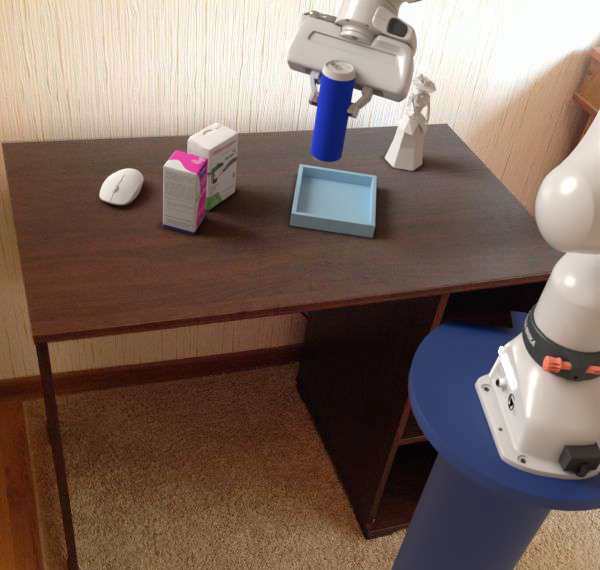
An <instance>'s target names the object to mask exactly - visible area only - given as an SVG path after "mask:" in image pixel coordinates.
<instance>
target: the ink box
mask: <svg viewBox="0 0 600 570" xmlns="http://www.w3.org/2000/svg"><path fill="white" fill-rule="evenodd" d="M186 141H187V147H186V148H187V152H186V153H189V154H193V155H197V156H201V157H205V158H208V169H207V187H206V206H205V211H207V212H208V211H210V210H212V209H213V208H214V207H216V206H217V205H219V204H220V203H221V202H223V201H224V200H226V199H227V198H229V197H230V196H231V195H233V194H234V193H236V181H237V180H236V179H237V178H236V177H237V163H238V162H237V161H238V146H239V145H238V144H239V131H236V130H234V129H232V128H230V127H227V126H225V125H223V124H222V123H220V122H213V123H212V124H210V125H208V126H207V127H205V128H203V129H201V130H200V131H198V132H196V133H194V134H192V135H190V136H189V138H188V139H187V140H186Z"/></svg>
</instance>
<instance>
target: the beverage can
mask: <svg viewBox="0 0 600 570" xmlns="http://www.w3.org/2000/svg"><path fill="white" fill-rule="evenodd" d="M355 77H356V74H355V67H354V66H353V65H352V64H350V63H348V62H345V61H341V60H331V61H328V62H326V63H325V65H324V67H323V69H322V75H321V82H320V85H319V90H318V92H319V96H318V103H317V106H316V111H315V119H314V126H313V131H312V132H313V134H312V140H311V145H310V146H311V147H310V154H311V157H312V159H314V160H315V161H316V162H318V163H320V164H324V165H333V164H336V163H338V162H339V161H340V160H341V159H342V156H343V151H344V147H345V140H346V134H347V129H348V122H349V116H347V114H346V112H347V109H348V108H349V105H350V102H352V99H353V95H354V90H355V89H354V83H355Z"/></svg>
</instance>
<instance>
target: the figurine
mask: <svg viewBox="0 0 600 570" xmlns="http://www.w3.org/2000/svg"><path fill="white" fill-rule="evenodd" d="M416 75H417V76H416V77H415V78H414V79H413V78H412V83H413V85H415V89H416V91H417V92H415V93H414V92H411V93H410V94H408V99H407V102H406V103H407V104H406V107H405V111H406V112H405V114H403V116H402V117H400V118H399V120H397V122H396V123H395V125H396V126H397V128H396V131H395V134H394V137H393V140H392V141H391V144H390V146H389V148H388V149H387V152H386V154H385V156H384V160H385V161H386V162H387V163H388V164H390V166H391V167H392V168H394V169H399V170H405V171H412V172H413V171H415V170H416V169H418V168H420V166H422V165H423V159H424V158H423V156H424V155H423V154H424V153H423V152H424V141H425V135H426V133H427V131H428V130H429V129H428V124H429V121H430V117H431V94H433V93H435V92H437V87H436V83H435V82H434V81H433V80H431V79H430V76H426V75H424V74H423V73H422V72H416ZM411 104H412V108H413V110H410V106H411ZM425 107H427V110H426V117H425V115H424V114H423V113H422V112H423V110H424V108H425Z"/></svg>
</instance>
